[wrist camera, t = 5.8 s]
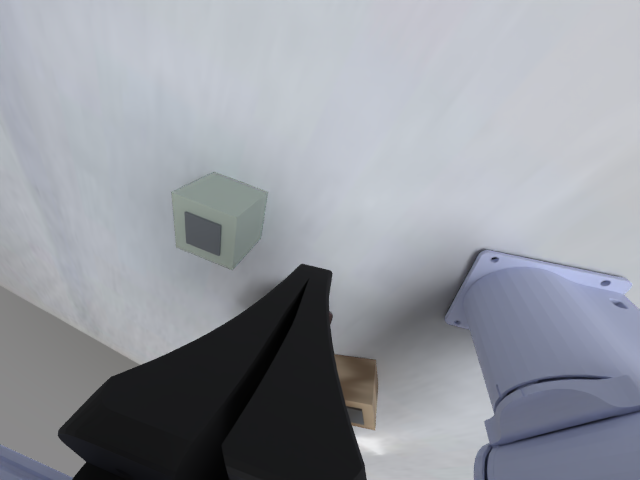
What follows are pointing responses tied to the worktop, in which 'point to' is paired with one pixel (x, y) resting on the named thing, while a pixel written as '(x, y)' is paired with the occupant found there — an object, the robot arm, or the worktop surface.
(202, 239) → the sage marked block
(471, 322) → the robot arm
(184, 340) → the worktop surface
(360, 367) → the oak marked block
